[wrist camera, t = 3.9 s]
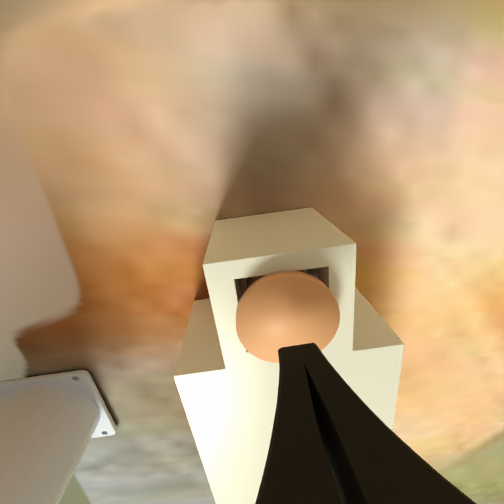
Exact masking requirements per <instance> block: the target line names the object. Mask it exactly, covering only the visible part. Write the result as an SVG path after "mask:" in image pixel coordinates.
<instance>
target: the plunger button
mask: <svg viewBox="0 0 504 504" xmlns="http://www.w3.org/2000/svg"><path fill="white" fill-rule="evenodd" d="M339 323H340V310H339V306H338V303H337V301H336V299H335V297H334V296H333V294H332V293H331V291H330V290H329V288H328V287H327V286H326V285H325V284H324V283H323V282H322V281H321V280H319V279H318V278H316V277H315V276H312V275H310V274H307V273H305V272H304V270H298V271H281V272H276V273H272V274H269V275H261V276H254V277H247V290H246V291H245V292H244V294H243V295H242V297H241V298H240V300H239V303H238V305H237V310H236V332H237V335H238V338H239V340H240V342H241V344H242V345H243V346H244V348H245V349H246V350H247V351H248V352H250V353H251V354H252V355H254V356H255V357H257V358H259V359H261V360H264V361H267V362H272V363H279V356H278V350H279V349H280V348H281V347H288V346H294V345H301V344H307V343H315V344H316V345H317V346H318V347H319V349H320V350H321V351H322V350H323V349H324V348H325V347H326V346H327V345H328V344H329V343H330V342H331V340H332V339H333V338H334V336H335V334H336V332H337V330H338V327H339Z"/></svg>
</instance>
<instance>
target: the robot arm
mask: <svg viewBox="0 0 504 504" xmlns="http://www.w3.org/2000/svg"><path fill="white" fill-rule="evenodd" d="M278 356H279V385H278V395H277V404H276V411H275V417H274V423H273V429H272V435H271V440H270V445H269V450H268V455H267V459H266V463H265V468H264V472H263V476H262V480H261V484H260V487H259V491H258V495H257V499H256V503H255V504H476V503H475V502H473V501H472V500H471V499H470V498H469V497H467V496H466V495H465V494H464V493H462V492H461V491H460V490H459V489H458V488H456V487H455V486H454V485H453V484H451V483H450V482H449V481H448V480H446V479H445V478H444V477H443V476H442V475H440V474H439V473H438V472H437V471H436V470H435V469H434V468H432V467H431V466H430V465H429V464H428V463H427V462H426V461H424V460H423V459H422V458H421V457H420V456H419V455H418V454H416V453H415V452H414V451H413V450H412V449H411V448H410V447H409V446H408V445H407V444H406V443H404V442H403V441H402V440H401V439H400V438H399V437H398V436H397V435H396V434H395V433H394V432H393V431H392V430H391V429H390V428H389V427H388V426H387V425H386V424H385V423H384V422H383V421H382V420H381V419H380V418H379V417H378V416H377V415H376V414H375V413H374V412H373V411H372V410H371V409H370V408H369V407H368V406H367V405H366V404H365V403H364V402H363V401H362V400H361V399H360V398H359V396H358V395H357V394H356V393H355V392H354V391H353V390H352V389H351V387H350V386H349V385H348V384H347V383H346V382H345V381H344V379H343V378H342V377H341V376H340V375H339V374H338V372H337V371H336V370H335V369H334V367H333V366H332V365H331V364H330V362H329V361H328V360H327V358H326V357H325V356H324V354H323V353H322V352H321V350H320V349H319V347H318V346H317V345H316V344H315V343H307V344H301V345H294V346H288V347H281V348H280V349H279V350H278ZM116 431H117V427H116V425H115V423H114V421H113V419H112V417H111V415H110V413H109V411H108V409H107V407H106V405H105V403H104V401H103V399H102V397H101V395H100V393H99V391H98V389H97V387H96V385H95V383H94V381H93V379H92V377H91V376H90V374H89V372H88V371H86V370H78V371H71V372H63V373H56V374H49V375H42V376H35V377H28V378H20V379H13V380H6V381H0V504H58V503H59V501H60V499H61V497H62V495H63V493H64V491H65V489H66V487H67V485H68V483H69V481H70V479H71V477H72V475H73V473H74V471H75V469H76V467H77V465H78V463H79V461H80V459H81V457H82V455H83V453H84V451H85V449H86V447H87V445H88V443H89V441H90V439H91V438H96V437H103V436H110V435H114V434H115V433H116Z"/></svg>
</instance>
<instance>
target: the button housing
mask: <svg viewBox="0 0 504 504" xmlns="http://www.w3.org/2000/svg"><path fill="white" fill-rule="evenodd" d="M356 246H357V243H355V242H354V241H353V240H352V239H350V238H349V237H348V236H347V235H345V234H344V233H343V232H342V231H341V230H339V229H338V228H337V227H336V226H334V225H333V224H332V223H331V222H329V221H328V220H327V219H326V218H324V217H323V216H322V215H321V214H319V213H318V212H317V211H316V210H314V209H313V208H312V207H310V208H302V209H295V210H288V211H281V212H273V213H266V214H259V215H251V216H244V217H237V218H229V219H222V220H215V223H214V226H213V230H212V233H211V237H210V240H209V244H208V247H207V251H206V254H205V258H204V261H203V269H204V274H205V278H206V283H207V287H208V292H209V296H210V298H208V299H201V300H194V303H193V307H192V311H191V314H190V318H189V322H188V325H187V329H186V333H185V336H184V340H183V344H182V347H181V351H180V355H179V358H178V362H177V366H176V369H175V373H174V379H175V382H176V385H177V388H178V391H179V394H180V397H181V400H182V403H183V406H184V409H185V412H186V415H187V418H188V421H189V424H190V427H191V430H192V433H193V436H194V439H195V442H196V445H197V448H198V451H199V454H200V457H201V460H202V463H203V466H204V469H205V472H206V475H207V478H208V481H209V484H210V487H211V490H212V493H213V496H214V499H215V502H216V504H255V503H256V499H257V495H258V491H259V487H260V484H261V480H262V476H263V472H264V468H265V463H266V459H267V455H268V450H269V445H270V440H271V435H272V429H273V423H274V417H275V411H276V404H277V395H278V385H279V363H272V362H267V361H264V360H261V359H259V358H257V357H255V356H254V355H252V354H251V353H250V352H248V351H247V350H246V349H245V348H244V346H243V345H242V344H241V342H240V340H239V338H238V335H237V332H236V310H237V305H238V303H239V300H240V298H241V297H242V295H243V294H244V292H245V291H246V290H247V277H254V276H261V275H269V274H272V273H276V272H281V271H298V270H304V272H305V273H307V274H310V275H312V276H315V277H316V278H318V279H319V280H321V281H322V282H323V283H324V284H325V285H326V286H327V287H328V288H329V290H330V291H331V293H332V294H333V296H334V297H335V299H336V301H337V303H338V306H339V310H340V323H339V327H338V330H337V332H336V334H335V336H334V338H333V339H332V340H331V342H330V343H329V344H328V345H327V346H326V347H325V348H324V349H323V350H322V351H321V352H322V353H323V354H324V356H325V357H326V358H327V360H328V361H329V362H330V364H331V365H332V366H333V367H334V369H335V370H336V371H337V372H338V374H339V375H340V376H341V377H342V378H343V379H344V381H345V382H346V383H347V384H348V385H349V386H350V387H351V389H352V390H353V391H354V392H355V393H356V394H357V395H358V396H359V398H360V399H361V400H362V401H363V402H364V403H365V404H366V405H367V406H368V407H369V408H370V409H371V410H372V411H373V412H374V413H375V414H376V415H377V416H378V417H379V418H380V419H381V420H382V421H383V422H384V423H385V424H386V425H387V426H388V427H389V428H390V429H391V430H393V422H394V415H395V408H396V401H397V393H398V386H399V379H400V372H401V364H402V357H403V350H404V343H403V342H402V341H401V340H400V338H399V337H398V336H397V335H396V334H395V333H394V331H393V330H392V329H391V328H390V327H389V326H388V324H387V323H386V322H385V321H384V320H383V319H382V317H381V316H380V315H379V314H378V313H377V311H376V310H375V309H374V308H373V307H372V306H371V304H370V303H369V302H368V301H367V300H366V299H365V297H364V296H363V295H362V294H361V293H360V291H359V290H358V289H357V288H356V287H355V273H356Z"/></svg>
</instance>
